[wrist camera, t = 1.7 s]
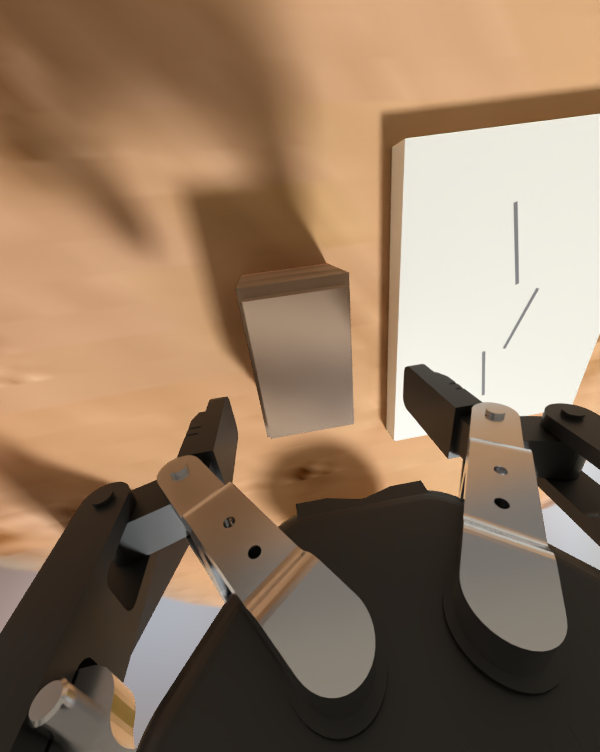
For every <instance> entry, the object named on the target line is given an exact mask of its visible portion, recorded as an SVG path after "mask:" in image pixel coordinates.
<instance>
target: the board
mask: <svg viewBox="0 0 600 752" xmlns="http://www.w3.org/2000/svg"><path fill="white" fill-rule="evenodd" d="M599 334H600V114H593V115H585V116H577V117H569V118H561V119H554V120H546V121H538V122H530V123H522V124H514V125H507V126H499V127H491V128H483V129H475V130H467V131H460V132H452V133H444V134H436V135H428V136H420V137H412V138H405V139H404V140H402V141H400V142H399V143H397V144H396V145H394V146H393V147H392V171H391V221H390V271H389V321H388V371H387V420H386V430H387V431H388V433H389V434H390V436H391V437H392V439H393V440H394V441H397V440H402V439H408V438H413V437H418V436H423V435H428V434H427V433H426V432H425V431H424V430H423V428H422V427H421V426H420V425H419V424H418V422H417V421H416V420H415V419H414V418H413V416H412V415H411V414H410V413H409V412H408V410H407V409H406V407H405V405H404V402H403V381H404V369H405V367H407V366H412V365H418V364H425V365H426V366H427V367H429V368H430V369H431V370H432V371H434V372H438V373H440V374H443V375H446V376H448V377H449V378H451V379H452V380H453V381H455V382H456V384H459V385H460V386H461V387H462V388H464V389H466V390H467V391H468V392H470V393H471V394H472V395H474V396H475V397H476V398H478V399H479V400H480V401H482V402H492V403H499V404H503V405H506V406H508V407H510V408H512V409H514V410H515V411H516V412H517V413H518V414H519V416H528V415H533V414H538V413H544V410H545V407H546V406H548V405H550V404H556V403H564V404H571V405H572V404H573V401H574V399H575V396H576V393H577V391H578V388H579V386H580V383H581V380H582V378H583V375H584V373H585V370H586V367H587V365H588V362H589V360H590V357H591V355H592V352H593V349H594V347H595V344H596V342H597V339H598V336H599Z"/></svg>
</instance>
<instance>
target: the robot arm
mask: <svg viewBox="0 0 600 752" xmlns="http://www.w3.org/2000/svg"><path fill="white" fill-rule="evenodd" d="M403 402H404V405H405V407H406V409H407V410H408V412H409V413H410V414H411V415H412V416H413V418H414V419H415V420H416V421H417V422H418V424H419V425H420V426H421V427H422V428H423V430H424V431H425V432H426V433H427V434H428V436H429V437H430V438H431V439H432V440H433V441H434V443H435V444H436V445H437V446H438V447H439V449H440V450H441V451H442V452H443V453H444V455H445V456H446V457H447V458H448V459H450V458H456V457H462V459H463V462H462V468H461V477H460V486H459V495H458V497H456V496H453V495H450V494H447V493H443V492H438V491H429V490H427V489H426V488H425V486H424V485H423V483H422V482H421V481H416V482H410V483H405V484H400V485H395V486H390V487H388V488H386V489H384V490H381V491H379V492H377V493H375V494H373V495H370V496H368V497H366V498H364V499H332V498H326V499H321V500H316V501H311V502H305V503H300V504H296V508H297V515H296V516H293V517H291V518H290V519H288V520H286V521H285V522H283V523H282V524H281V525H280V526H278V527H277V526H276V525H275V524H274V523H273V522H272V521H271V520H270V519H269V518H268V517H267V516H266V515H265V514H264V513H263V512H262V511H261V510H260V509H259V508H258V507H257V506H256V505H255V504H254V503H253V502H251V501H250V500H249V499H248V498H247V497H246V496H245V495H244V494H243V493H242V492H241V491H240V490H239V489H238V488H237V487H236V486H235V485H234V484H233V483H232V480H233V473H234V465H235V457H236V449H237V441H238V431H237V426H236V422H235V419H234V415H233V412H232V408H231V405H230V401H229V399H228V397H221V398H216V399H210V400H209V403H208V406H207V409H206V411H205V412H199V413H198V414H197V415H196V416H195V417H194V418H193V419H192V421H191V423H190V426H189V430H188V431H187V433H186V437H185V439H184V441H183V444H182V446H181V449H180V451H179V454H178V456H177V458H176V459H174V460H172V461H170V462H168V463H167V464H166V465H165V466H164V467H163V468H162V469H161V470H160V471H159V473H158V475H157V480H155V481H153V482H151V483H148V484H146V485H143V486H141V487H139V488H136V489H134V490H131V489H130V488H129V486H128V484H126V483H124V482H114V483H110V484H108V485H105V486H103V487H101V488H99V489H97V490H96V491H94V492H93V493H92V494H90V495H89V496H88V497H87V498H86V499H85V500H84V501H83V502H82V503H81V505H80V506H79V508H78V510H77V511H76V513H75V514H74V516H73V518H72V519H71V521H70V522H69V524H68V526H67V527H66V529H65V530H64V532H63V534H62V535H61V537H60V538H59V540H58V542H57V543H56V545H55V547H54V548H53V550H52V551H51V553H50V555H49V556H48V558H47V559H46V561H45V563H44V564H43V566H42V567H41V569H40V571H39V572H38V574H37V575H36V577H35V579H34V580H33V582H32V583H31V585H30V587H29V588H28V590H27V591H26V593H25V595H24V596H23V598H22V600H21V601H20V603H19V604H18V606H17V608H16V609H15V611H14V613H13V614H12V616H11V617H10V619H9V620H8V622H7V624H6V625H5V627H4V628H3V630H2V632H1V633H0V752H600V570H598V569H596V568H594V567H592V566H590V565H589V564H587V563H585V562H583V561H581V560H579V559H577V558H575V557H573V556H571V555H569V554H567V553H566V552H564V551H562V550H560V549H558V548H556V547H554V546H552V545H550V544H548V543H547V539H546V533H545V527H544V521H543V515H542V509H541V503H540V497H539V491H538V487H539V488H540V489H541V490H543V491H544V492H545V493H546V494H547V495H548V496H549V497H550V498H551V499H552V500H553V501H554V502H555V503H556V504H557V505H558V506H559V507H560V508H561V509H562V510H563V511H564V512H565V513H566V514H567V515H568V516H569V517H570V518H571V519H572V520H573V521H574V522H575V523H576V524H577V525H578V526H579V527H580V528H581V529H582V530H583V531H584V532H585V533H587V535H588V536H590V537H591V538H592V539H593V540H594V541H595V542H596V543H597V544H598V545H599V546H600V485H599V484H598V483H596V482H595V481H594V480H593V479H591V478H590V477H589V476H588V475H586V474H585V473H584V472H583V471H581V470H582V468H583V466H584V463H585V461H586V460H587V461H589V462H590V463H592V464H593V465H594V466H596V467H597V468H598V469H600V416H599V415H598V414H596V413H594V412H592V411H590V410H588V409H586V408H583V407H580V406H576V405H571V404H564V403H556V404H550V405H548V406H546V407H545V410H544V413H543V416H542V417H541V416H519V414H518V413H517V412H516V411H515V410H514V409H512V408H510V407H508V406H506V405H503V404H499V403H492V402H482V401H480V400H479V399H478V398H476V397H475V396H474V395H472V394H471V393H470V392H468V391H467V390H466V389H464V388H462V387H461V386H460V385H459V384H456V382H455V381H453V380H452V379H451V378H449V377H448V376H446V375H443V374H440V373H438V372H434V371H432V370H431V369H430V368H429V367H427V366H426V365H425V364H418V365H412V366H407V367H405V369H404V381H403ZM183 538H186V540H187V542H188V543H189V545H190V546H191V548H192V549H193V551H194V553H195V554H196V556H197V557H198V559H199V560H200V562H201V564H202V565H203V567H204V568H205V570H206V571H207V573H208V575H209V576H210V578H211V580H212V581H213V583H214V585H215V587H216V589H217V590H218V592H219V594H220V595H221V597H222V599H223V600H224V602H225V604H224V606H223V607H222V609H221V610H220V612H219V613H218V615H217V616H216V618H215V619H214V621H213V623H212V624H211V626H210V627H209V629H208V630H207V632H206V633H205V635H204V636H203V638H202V640H201V641H200V643H199V644H198V646H197V647H196V649H195V650H194V652H193V653H192V655H191V656H190V658H189V660H188V661H187V663H186V664H185V666H184V667H183V669H182V671H181V672H180V673H179V675H178V677H177V678H176V680H175V681H174V683H173V684H172V686H171V687H170V689H169V691H168V692H167V694H166V695H165V697H164V698H163V700H162V701H161V703H160V704H159V706H158V708H157V709H156V711H155V713H154V715H153V716H152V718H151V720H150V722H149V724H148V726H147V728H146V729H145V732H144V734H143V736H142V738H141V740H140V743H139V745H138V748H136V749H135V746H134V740H133V726H134V719H135V699H134V696H133V693H132V692H131V690H130V689H129V688H128V687H127V686H126V685H125V684H124V683H123V682H124V678H125V675H126V671H127V667H128V664H129V660H130V656H131V653H132V649H133V646H134V642H135V638H136V635H137V631H138V627H139V624H140V620H141V616H142V613H143V609H144V606H145V602H146V598H147V595H148V591H149V587H150V584H151V580H152V576H153V573H154V569H155V565H156V562H157V558H158V555H159V551H160V549H162V548H164V547H166V546H168V545H170V544H172V543H174V542H176V541H178V540H181V539H183Z"/></svg>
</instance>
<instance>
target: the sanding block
mask: <svg viewBox="0 0 600 752" xmlns="http://www.w3.org/2000/svg"><path fill="white" fill-rule="evenodd" d="M236 294H237V299H238V303H239V308H240V312H241V317H242V322H243V326H244V331H245V335H246V340H247V345H248V349H249V354H250V359H251V363H252V368H253V372H254V377H255V382H256V386H257V391H258V395H259V400H260V405H261V409H262V414H263V419H264V423H265V428H266V432H267V437H271V439H272V438H278V437H284V436H289V435H295V434H300V433H306V432H312V431H317V430H323V429H329V428H334V427H340V426H345V425H351V424H354V409H353V379H352V350H351V320H350V290H349V272H346V271H344V270H342V269H339V268H337V267H334V266H332V265H330V264H327V263H324V264H317V265H310V266H302V267H295V268H288V269H281V270H274V271H267V272H260V273H252V274H245V275H241V277H240V279H239V282H238V284H237V286H236Z"/></svg>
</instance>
